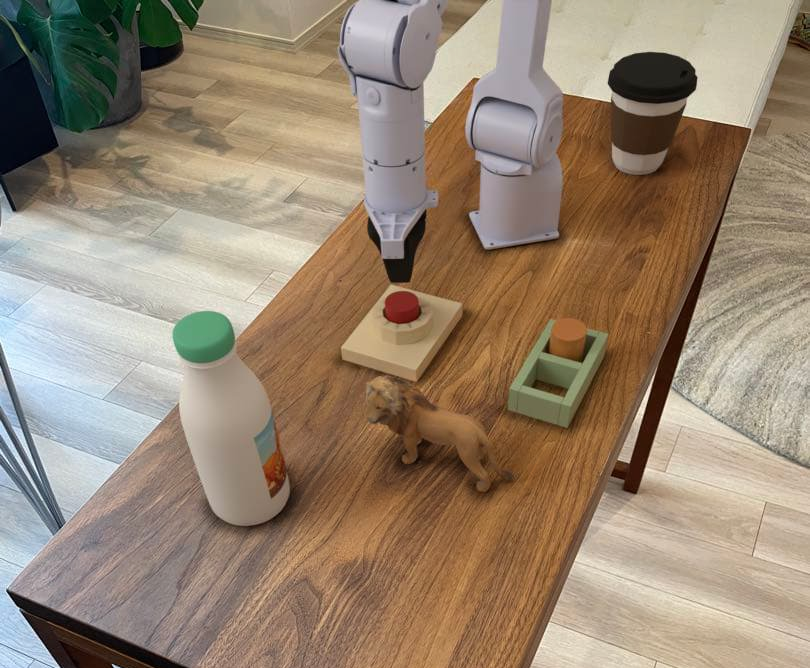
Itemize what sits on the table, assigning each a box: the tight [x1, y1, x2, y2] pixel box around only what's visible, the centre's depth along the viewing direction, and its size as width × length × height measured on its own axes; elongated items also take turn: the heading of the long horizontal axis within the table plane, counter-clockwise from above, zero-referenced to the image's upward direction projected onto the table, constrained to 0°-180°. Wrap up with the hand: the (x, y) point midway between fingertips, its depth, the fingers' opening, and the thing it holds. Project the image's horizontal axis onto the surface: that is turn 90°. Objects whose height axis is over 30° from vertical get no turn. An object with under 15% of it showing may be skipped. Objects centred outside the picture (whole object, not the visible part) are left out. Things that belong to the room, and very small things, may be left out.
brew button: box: [385, 291, 419, 324], centre depth 89 cm, size 4×4×2 cm
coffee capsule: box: [548, 317, 588, 364], centre depth 86 cm, size 4×4×5 cm
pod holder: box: [507, 318, 609, 429], centre depth 86 cm, size 6×12×3 cm, turn 154°
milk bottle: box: [172, 310, 291, 527], centre depth 71 cm, size 8×8×20 cm
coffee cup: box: [607, 51, 698, 176], centre depth 107 cm, size 11×11×12 cm
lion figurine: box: [363, 374, 515, 493], centre depth 77 cm, size 15×5×9 cm, turn 69°
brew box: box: [340, 284, 464, 383], centre depth 91 cm, size 12×9×4 cm
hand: (400, 278), depth 86 cm, fingers closed
